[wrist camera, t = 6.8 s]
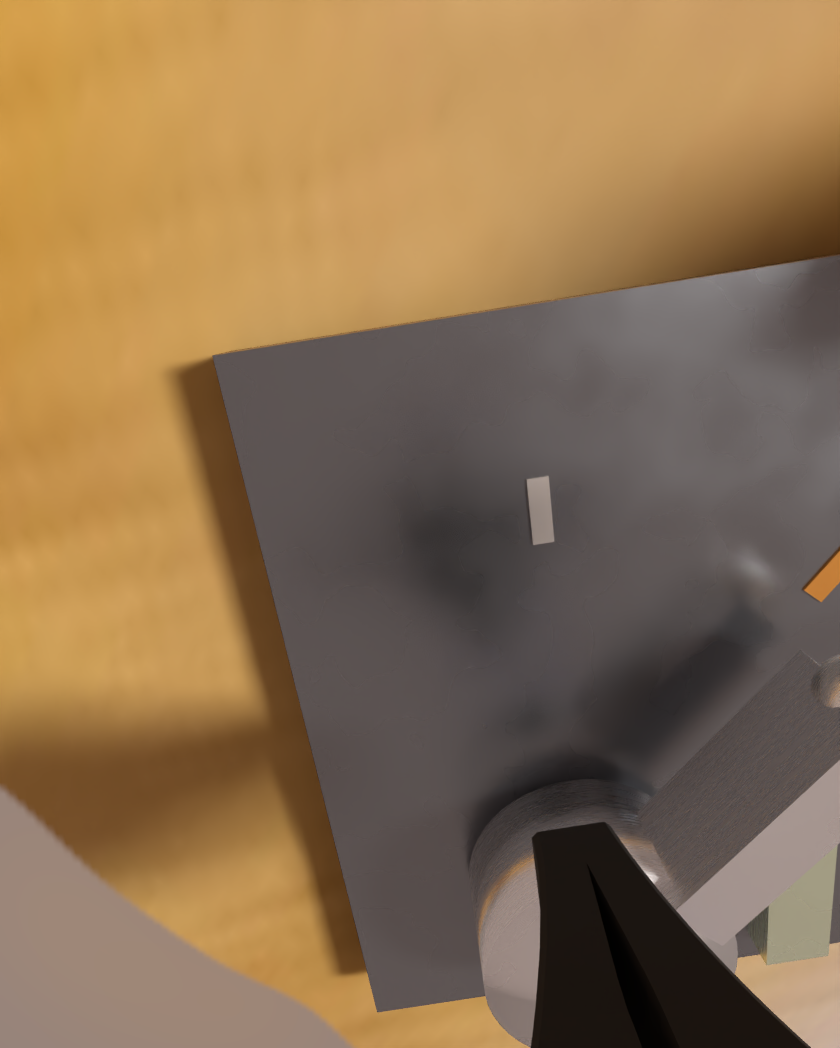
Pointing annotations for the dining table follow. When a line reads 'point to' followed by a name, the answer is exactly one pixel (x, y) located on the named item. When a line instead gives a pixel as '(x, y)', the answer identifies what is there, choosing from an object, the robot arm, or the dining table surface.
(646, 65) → the dining table surface
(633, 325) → the lever base plate
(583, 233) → the dining table surface
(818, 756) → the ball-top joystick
